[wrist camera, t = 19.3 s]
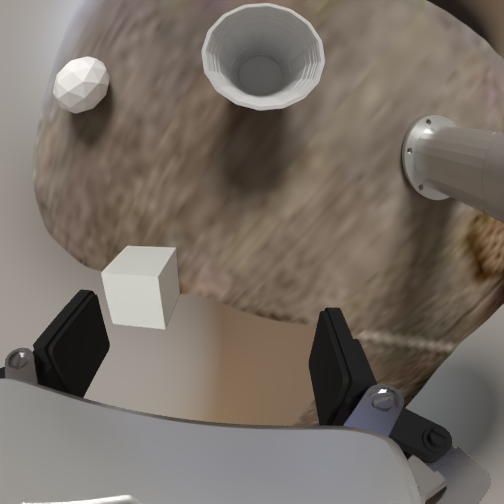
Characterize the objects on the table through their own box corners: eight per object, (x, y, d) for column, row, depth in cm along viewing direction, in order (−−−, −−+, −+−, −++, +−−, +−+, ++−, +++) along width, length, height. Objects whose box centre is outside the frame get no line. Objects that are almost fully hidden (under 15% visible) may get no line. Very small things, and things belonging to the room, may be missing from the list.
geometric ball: (115, 82, 33) (126, 77, 28) (77, 123, 33) (81, 125, 28) (83, 51, 28) (88, 39, 22) (44, 93, 28) (39, 89, 22)
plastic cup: (256, 134, 35) (257, 135, 23) (200, 75, 31) (176, 51, 20) (322, 84, 32) (351, 65, 21) (265, 25, 28) (270, -16, 17)
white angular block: (176, 247, 41) (158, 276, 32) (179, 294, 44) (165, 329, 36) (127, 245, 41) (101, 273, 32) (134, 291, 44) (112, 323, 35)
